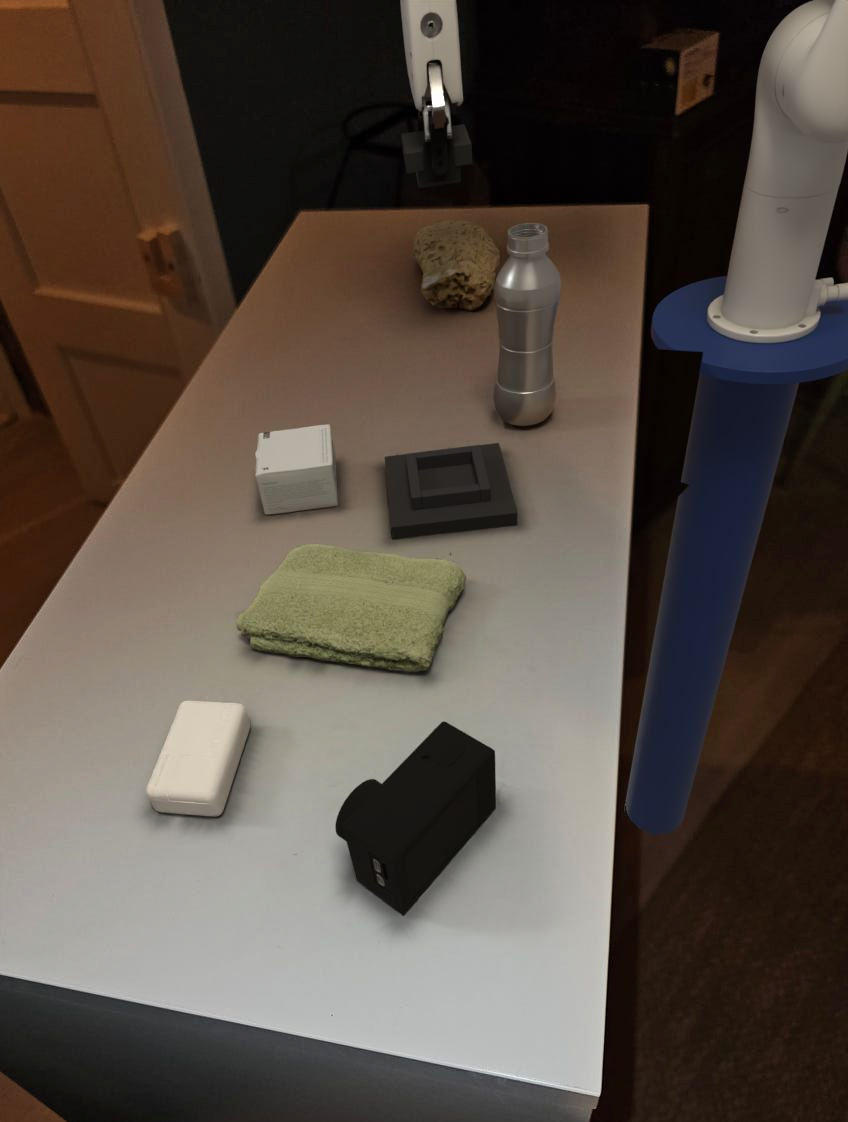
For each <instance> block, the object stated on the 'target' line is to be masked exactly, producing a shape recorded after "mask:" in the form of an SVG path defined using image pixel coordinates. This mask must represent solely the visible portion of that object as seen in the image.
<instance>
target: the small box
mask: <svg viewBox="0 0 848 1122" xmlns="http://www.w3.org/2000/svg"><path fill="white" fill-rule="evenodd" d="M332 435H333V434H332V429H331V425H330V424H329V423H328V424H318V425H310V426H304V427H296V428H288V429H281V430H272V431H266V432H265V431H264V432H259V433H258V435H257V445H256V446H257V447H256V450H255V452H254V456H255V459H256V462H255V476H254V477H255V480H256V485H257V489H258V492H259V497H260V500H261V505H262V508H263V513H264V514H265V515H277V514H286V513H294V512H301V511H309V510H315V509H316V510H317V509H325V508H332V507H333V508H334V507H337V506H338V505H339V500H338V499H339V498H338V481H337V480H338V477H337V459H336V453H335V447H334V441H333V440H334V439H333V436H332Z"/></svg>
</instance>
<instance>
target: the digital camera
mask: <svg viewBox="0 0 848 1122" xmlns="http://www.w3.org/2000/svg"><path fill="white" fill-rule="evenodd" d="M496 778H497V777H496V750H494V748H492V747H490V746H488V745H486V744H485V743H483V742H482V741H480V740H478V739H477V738H474V737H473V736H471V735H470V734H468V733H466V732H464V731H463V730H461V729H459V728H458V727H456V726H454V725H452V724H450V723H449V722H447V721H441V722H440V723H439V724H438V725H437V726H436V727H435V728H434V729H433V730H432V732H430V733H429V734H428V735H427V737H425V739H424V740H422V742H421V743H420V744H419V745H418V746H417V747H416V748H415V749H414V750H413V751H412V752H410V754H409V755H408V756H407V757H406V758H405V759H404V760H403V761H402V762H401V763H400V764H399V765H398V767H396V769H395V770H393V772H391V774H390V775H389V776H387V778H386V779H385V780H383V782H380V781H379V780H377V779H375V778H370V779H366V780H364V781H363V782H361V783H360V784H358V785H357V786H356V787H355V788H354V789H353V790H352V791H351V792H350V793H349V795H348V796H347V797H346V798H345V800H344V802H343V803H342V805H341V806H340V809H339V811H338V814H337V816H336V820H335V833H336V835H337V836H338V837H339V838H341V839H342V840H343V841H345V842H346V845H347V848H348V853H349V856H350V860H351V861H350V862H351V865H352V868H353V873H354V876H355V880H356V881H357V883H359V884H361V886H363V887H364V888H365V889H367V890H368V891H370V892H371V893H373V894H374V895H375V896H376V897H378V898H379V899H380V900H382V901H383V902H384V903H385V904H387V905H388V906H390V907H391V908H392V909H393V910H394V911H396V912H397V913H399V914H400V915H402V917H403V916H405V915H406V914H407V913H408V912H409V910H410V909H411V908H412V907H413V906H414V905H415V904H416V902H417V901H418V900H419V899H420V898H421V896H422V895H423V894H424V893H425V892H426V891H427V889H428V888H429V887H430V886H431V885H432V884H433V883H434V881H436V879H437V878H438V877H439V875H440V874H441V873H442V872H443V871H444V870H445V869H446V867H447V866H448V865H449V864H450V863H451V862H452V860H453V859H454V858H455V857H456V856H457V855H458V853H459V852H460V851H461V850H462V849H463V847H464V846H465V845H466V844H467V843H468V842H469V841H470V839H471V838H472V837H473V836H474V835H475V833H476V832H477V831H478V830H479V829H480V828H481V826H483V824H484V823H485V822H486V821H487V820H488V818H489V817H490V816H491V815H492V814H493V812H495V810H496V809H497V788H496V785H497V784H496V783H497V779H496Z"/></svg>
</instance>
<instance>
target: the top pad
mask: <svg viewBox="0 0 848 1122" xmlns="http://www.w3.org/2000/svg"><path fill="white" fill-rule="evenodd" d="M451 129H452V136H453V137H454V152H455V171H456V176H455V178H454V179H452V180H446V181H439V182H432V183H428V182H426V179H425V167H424V154H423V140H425V133H424V130H423V131H418V130H416V131H411V132H405V133H401V144H402V156H403V159H404V165H405V171H406V174H414V173H415V175H416V181H417V185H418V189H423V188H429V187H436V186H444V185H451V184H457V183H461V182H462V176H461V175H462V174H461V166H467V165H473V144H472V141H471V138H470V136H469V135H470V134H469V132H468V130H467V127H466V125H465V124H464V123H463V124H456V125H455V124H454V125H451Z"/></svg>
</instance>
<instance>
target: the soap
mask: <svg viewBox="0 0 848 1122" xmlns="http://www.w3.org/2000/svg"><path fill="white" fill-rule="evenodd" d="M250 730H251V721H250V717H249V715H248V711H247V709H246V707H245V705H244V704H242V703H239V702H227V701H225V702H223V701H203V700H184V701H182V702H181V703H180V705H179V707H178V709H177V711H176V715H175V716H174V719H173V721H172V724H171V726H170V729H169V731H168V733H167V737H166V739H165V741H164V744H163V746H162V748H161V751H160V753H159V756H158V759H157V761H156V763H155V766H154V769H153V771H152V774H151V776H150V778H149V781H148V783H147V785H146V789H145V790H146V791H145V792H146V796H147V798H148V800H149V801H150V803H151V805H152V807H153V808H154V810H156V811H157V812H160V813H167V814H179V815H188V816H189V815H190V816H204V817H218V816H220V815H222V813H223V812H224V809H225V807H226V804H227V800H228V798H229V794H230V791H231V787H232V786H233V782H234V779H235V776H236V774H237V769H238V766H239V763H240V761H241V757H242V754H243V750H244V748H245V745H246V743H247V739H248V736H249V733H250Z"/></svg>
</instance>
